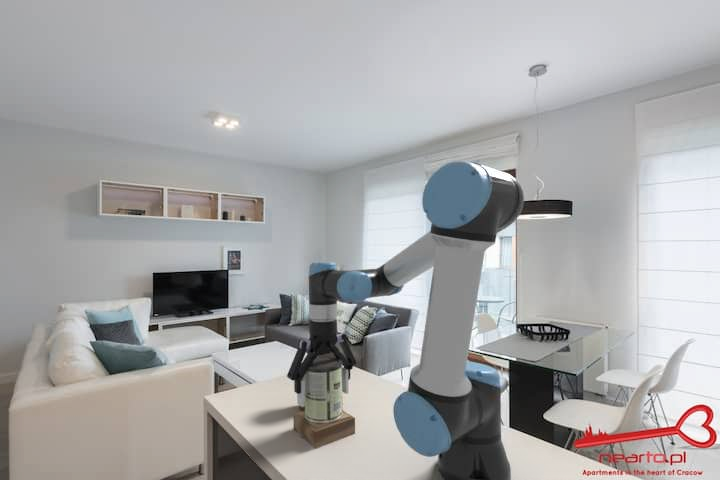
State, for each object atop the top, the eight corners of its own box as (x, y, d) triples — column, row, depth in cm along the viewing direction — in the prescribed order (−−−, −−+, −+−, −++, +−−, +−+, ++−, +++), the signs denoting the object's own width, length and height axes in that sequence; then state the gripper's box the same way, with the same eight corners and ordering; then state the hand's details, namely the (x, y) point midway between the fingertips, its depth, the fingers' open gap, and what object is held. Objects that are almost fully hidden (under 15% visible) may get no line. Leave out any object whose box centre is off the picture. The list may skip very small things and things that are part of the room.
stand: (355, 433, 96) (354, 416, 96) (315, 448, 88) (315, 430, 89) (331, 416, 105) (330, 401, 105) (293, 429, 98) (293, 412, 98)
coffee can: (311, 405, 103) (311, 355, 103) (346, 407, 101) (346, 357, 101) (298, 422, 93) (298, 366, 93) (337, 425, 91) (336, 369, 91)
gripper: (352, 312, 108) (353, 383, 108) (274, 322, 93) (274, 405, 93) (368, 315, 102) (368, 391, 102) (286, 327, 87) (287, 416, 87)
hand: (323, 398), depth 97 cm, fingers open, 13 cm apart
